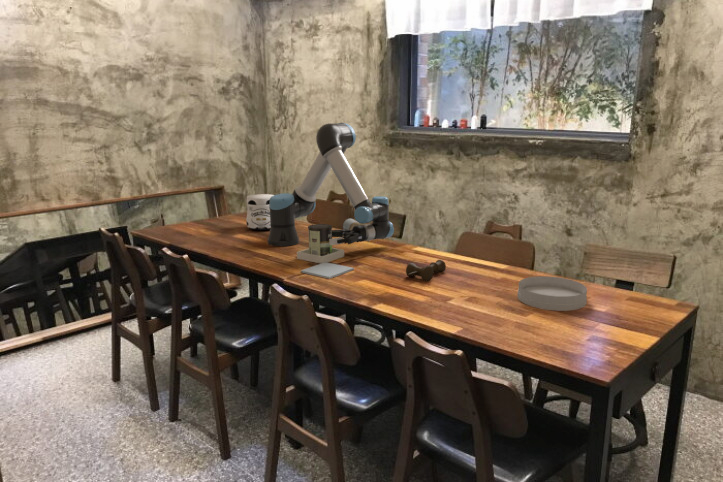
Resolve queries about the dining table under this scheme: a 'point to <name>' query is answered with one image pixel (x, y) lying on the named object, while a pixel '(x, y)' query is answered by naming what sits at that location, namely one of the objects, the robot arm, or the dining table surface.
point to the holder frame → (320, 259)
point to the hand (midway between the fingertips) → (321, 239)
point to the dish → (552, 293)
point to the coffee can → (320, 239)
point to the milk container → (258, 212)
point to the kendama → (425, 270)
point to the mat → (327, 270)
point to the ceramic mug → (350, 224)
